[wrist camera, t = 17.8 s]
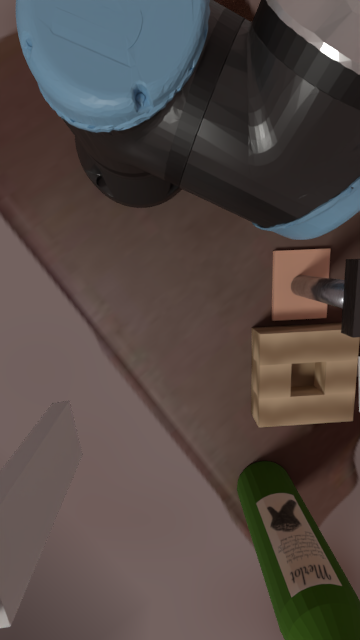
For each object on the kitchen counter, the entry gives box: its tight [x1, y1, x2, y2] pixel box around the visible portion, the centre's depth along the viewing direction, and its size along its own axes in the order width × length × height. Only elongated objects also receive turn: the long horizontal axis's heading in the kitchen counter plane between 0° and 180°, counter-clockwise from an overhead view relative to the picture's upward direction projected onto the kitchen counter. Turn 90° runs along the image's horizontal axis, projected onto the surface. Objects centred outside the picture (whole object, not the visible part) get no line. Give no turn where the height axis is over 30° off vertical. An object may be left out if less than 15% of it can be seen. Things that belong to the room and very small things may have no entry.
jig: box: [251, 323, 360, 427], centre depth 45 cm, size 14×20×4 cm
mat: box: [272, 249, 331, 321], centre depth 44 cm, size 10×8×1 cm
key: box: [291, 259, 360, 338], centre depth 36 cm, size 3×8×14 cm, turn 3°
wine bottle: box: [237, 461, 360, 640], centre depth 34 cm, size 9×9×32 cm
